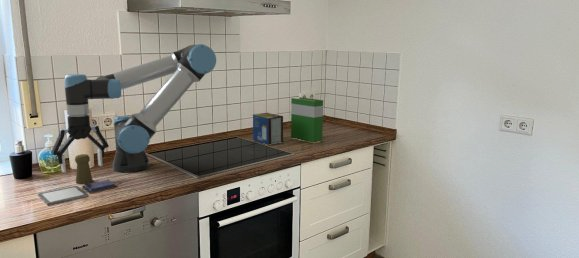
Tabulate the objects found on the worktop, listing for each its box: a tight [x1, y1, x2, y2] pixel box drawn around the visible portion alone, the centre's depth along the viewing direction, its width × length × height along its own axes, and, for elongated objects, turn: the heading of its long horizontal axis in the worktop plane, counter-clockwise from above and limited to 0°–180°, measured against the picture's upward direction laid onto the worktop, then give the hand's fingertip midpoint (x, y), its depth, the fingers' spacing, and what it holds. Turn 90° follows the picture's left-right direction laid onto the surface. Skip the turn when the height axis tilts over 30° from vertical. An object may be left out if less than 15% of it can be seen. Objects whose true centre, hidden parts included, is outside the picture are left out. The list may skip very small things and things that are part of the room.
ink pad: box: [81, 179, 118, 194], centre depth 158 cm, size 10×8×1 cm
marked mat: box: [37, 185, 89, 206], centre depth 149 cm, size 13×13×1 cm
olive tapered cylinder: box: [74, 153, 94, 185], centre depth 164 cm, size 6×6×11 cm
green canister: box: [290, 96, 324, 142], centre depth 239 cm, size 18×7×24 cm, turn 45°
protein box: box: [252, 112, 284, 146], centre depth 235 cm, size 10×15×16 cm
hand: (82, 168), depth 164 cm, fingers open, 13 cm apart
